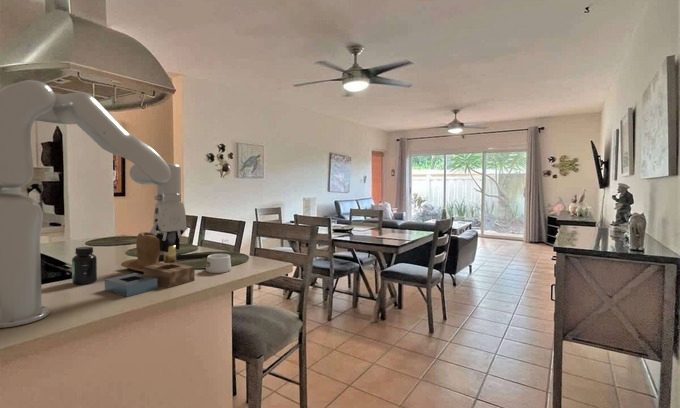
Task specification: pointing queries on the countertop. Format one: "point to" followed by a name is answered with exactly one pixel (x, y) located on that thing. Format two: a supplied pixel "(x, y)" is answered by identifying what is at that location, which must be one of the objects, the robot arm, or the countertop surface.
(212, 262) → the mug
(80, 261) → the supplement bottle
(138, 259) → the tan boot
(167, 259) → the two-tone roller
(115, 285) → the socket block
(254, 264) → the countertop surface
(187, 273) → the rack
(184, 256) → the wrench
